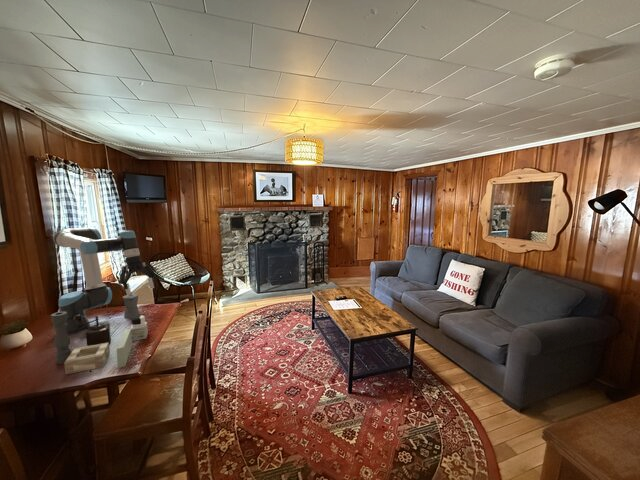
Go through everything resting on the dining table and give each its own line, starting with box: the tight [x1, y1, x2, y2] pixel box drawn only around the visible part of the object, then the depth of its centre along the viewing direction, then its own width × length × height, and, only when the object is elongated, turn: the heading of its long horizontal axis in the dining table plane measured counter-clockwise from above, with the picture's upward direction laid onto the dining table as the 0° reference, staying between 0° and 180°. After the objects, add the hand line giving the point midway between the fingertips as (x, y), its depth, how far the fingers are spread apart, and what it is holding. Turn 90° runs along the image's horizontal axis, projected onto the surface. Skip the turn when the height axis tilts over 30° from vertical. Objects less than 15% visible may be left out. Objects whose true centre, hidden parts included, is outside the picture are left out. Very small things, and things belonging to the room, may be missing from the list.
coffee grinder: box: [74, 315, 112, 346], centre depth 151 cm, size 16×11×18 cm
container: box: [129, 314, 149, 342], centre depth 161 cm, size 8×8×13 cm
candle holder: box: [50, 311, 72, 365], centre depth 135 cm, size 6×6×25 cm
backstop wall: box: [115, 328, 133, 369], centre depth 141 cm, size 22×3×10 cm, turn 28°
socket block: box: [63, 342, 110, 375], centre depth 134 cm, size 14×14×6 cm
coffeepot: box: [122, 291, 141, 319], centre depth 192 cm, size 15×9×18 cm, turn 44°
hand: (141, 291), depth 158 cm, fingers open, 13 cm apart
